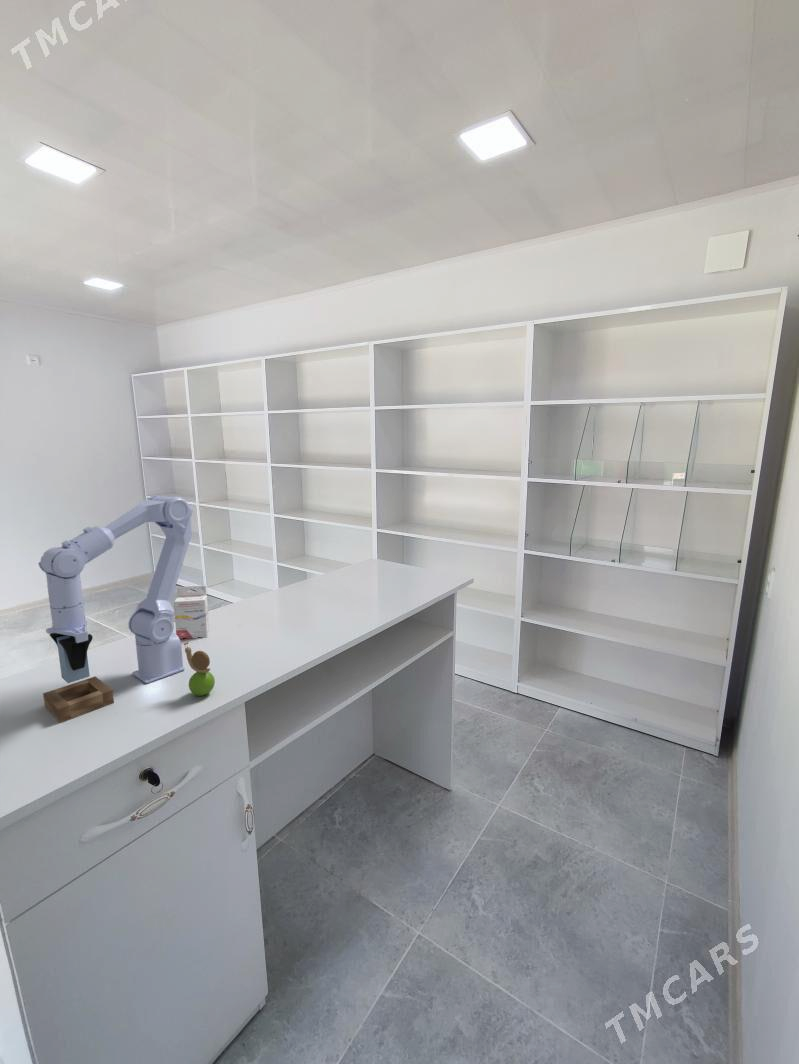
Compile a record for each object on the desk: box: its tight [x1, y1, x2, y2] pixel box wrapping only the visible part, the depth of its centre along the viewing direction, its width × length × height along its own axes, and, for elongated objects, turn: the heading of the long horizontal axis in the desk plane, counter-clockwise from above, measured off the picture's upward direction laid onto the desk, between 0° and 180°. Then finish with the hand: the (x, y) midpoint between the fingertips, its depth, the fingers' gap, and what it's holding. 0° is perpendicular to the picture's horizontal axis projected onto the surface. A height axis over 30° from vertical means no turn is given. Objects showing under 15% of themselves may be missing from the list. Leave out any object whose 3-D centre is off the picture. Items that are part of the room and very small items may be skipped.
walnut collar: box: [42, 676, 115, 724], centre depth 102 cm, size 10×10×3 cm
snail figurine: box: [183, 641, 216, 697], centre depth 106 cm, size 5×6×12 cm
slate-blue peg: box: [56, 635, 90, 684], centre depth 101 cm, size 4×4×9 cm
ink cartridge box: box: [173, 585, 210, 640], centre depth 139 cm, size 9×5×15 cm, turn 104°
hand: (74, 665), depth 101 cm, fingers closed on slate-blue peg, 4 cm apart
